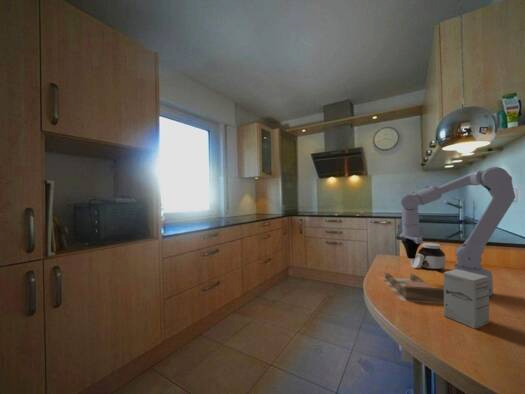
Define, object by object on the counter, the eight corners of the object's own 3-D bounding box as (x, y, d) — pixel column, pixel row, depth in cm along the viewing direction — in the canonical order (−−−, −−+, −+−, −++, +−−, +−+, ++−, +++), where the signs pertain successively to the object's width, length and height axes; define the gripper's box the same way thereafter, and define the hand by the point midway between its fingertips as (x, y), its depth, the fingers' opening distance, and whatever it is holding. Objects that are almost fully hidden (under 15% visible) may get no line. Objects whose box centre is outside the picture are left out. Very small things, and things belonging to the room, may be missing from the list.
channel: (380, 278, 95) (380, 267, 95) (418, 280, 92) (418, 269, 92) (401, 302, 74) (401, 288, 74) (451, 306, 71) (451, 291, 71)
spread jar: (448, 271, 104) (448, 245, 104) (432, 274, 100) (432, 247, 100) (422, 264, 115) (421, 241, 115) (406, 267, 111) (405, 243, 111)
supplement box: (442, 316, 65) (442, 271, 65) (458, 311, 68) (457, 268, 68) (475, 330, 58) (474, 280, 58) (490, 323, 61) (489, 275, 61)
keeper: (405, 292, 80) (405, 281, 80) (424, 293, 78) (424, 282, 78) (411, 298, 75) (411, 286, 75) (432, 300, 74) (432, 287, 74)
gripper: (393, 222, 100) (393, 253, 100) (407, 226, 86) (408, 262, 86) (410, 222, 99) (411, 254, 99) (428, 226, 85) (429, 263, 85)
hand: (411, 258), depth 92 cm, fingers closed
